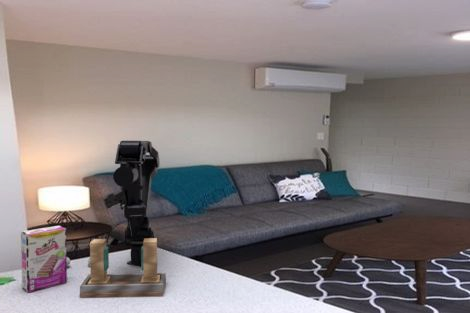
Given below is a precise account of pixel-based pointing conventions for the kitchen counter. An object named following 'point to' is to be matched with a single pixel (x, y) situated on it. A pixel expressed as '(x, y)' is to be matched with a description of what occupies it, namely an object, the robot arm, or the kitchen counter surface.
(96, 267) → the weathered wooden tray
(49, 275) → the candy bar box
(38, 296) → the kitchen counter surface
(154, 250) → the oak finger
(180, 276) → the kitchen counter surface
